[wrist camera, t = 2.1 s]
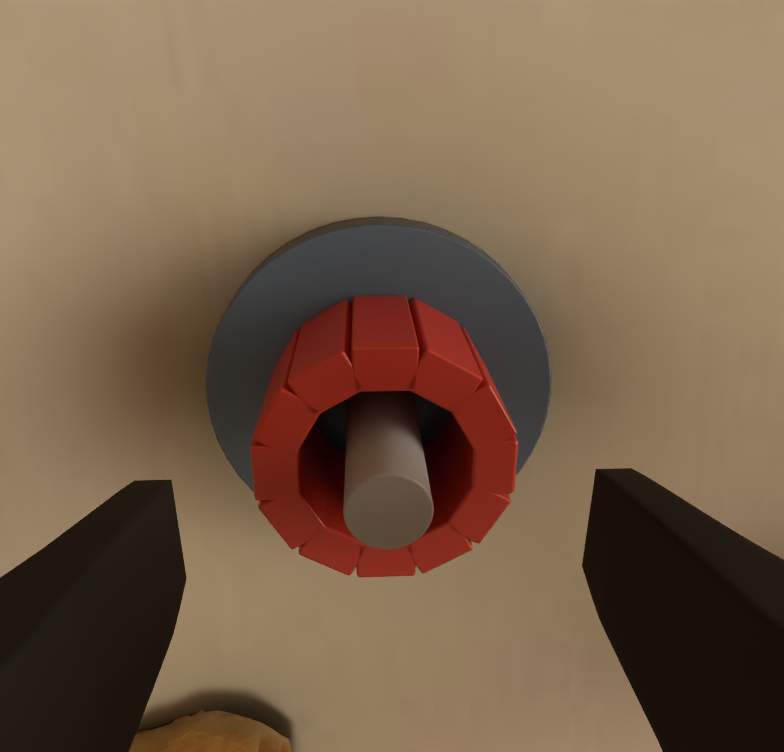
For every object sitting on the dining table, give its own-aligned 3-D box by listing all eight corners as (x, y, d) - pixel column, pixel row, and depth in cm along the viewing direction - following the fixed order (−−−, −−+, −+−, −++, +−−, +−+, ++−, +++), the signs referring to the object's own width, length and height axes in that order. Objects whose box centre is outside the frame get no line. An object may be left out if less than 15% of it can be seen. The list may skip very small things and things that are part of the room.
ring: (493, 293, 15) (527, 344, 12) (480, 487, 17) (508, 574, 14) (265, 296, 15) (239, 349, 12) (280, 492, 17) (262, 581, 14)
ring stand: (556, 215, 15) (661, 277, 10) (527, 514, 19) (595, 681, 13) (195, 218, 15) (104, 282, 10) (231, 522, 18) (177, 696, 13)
